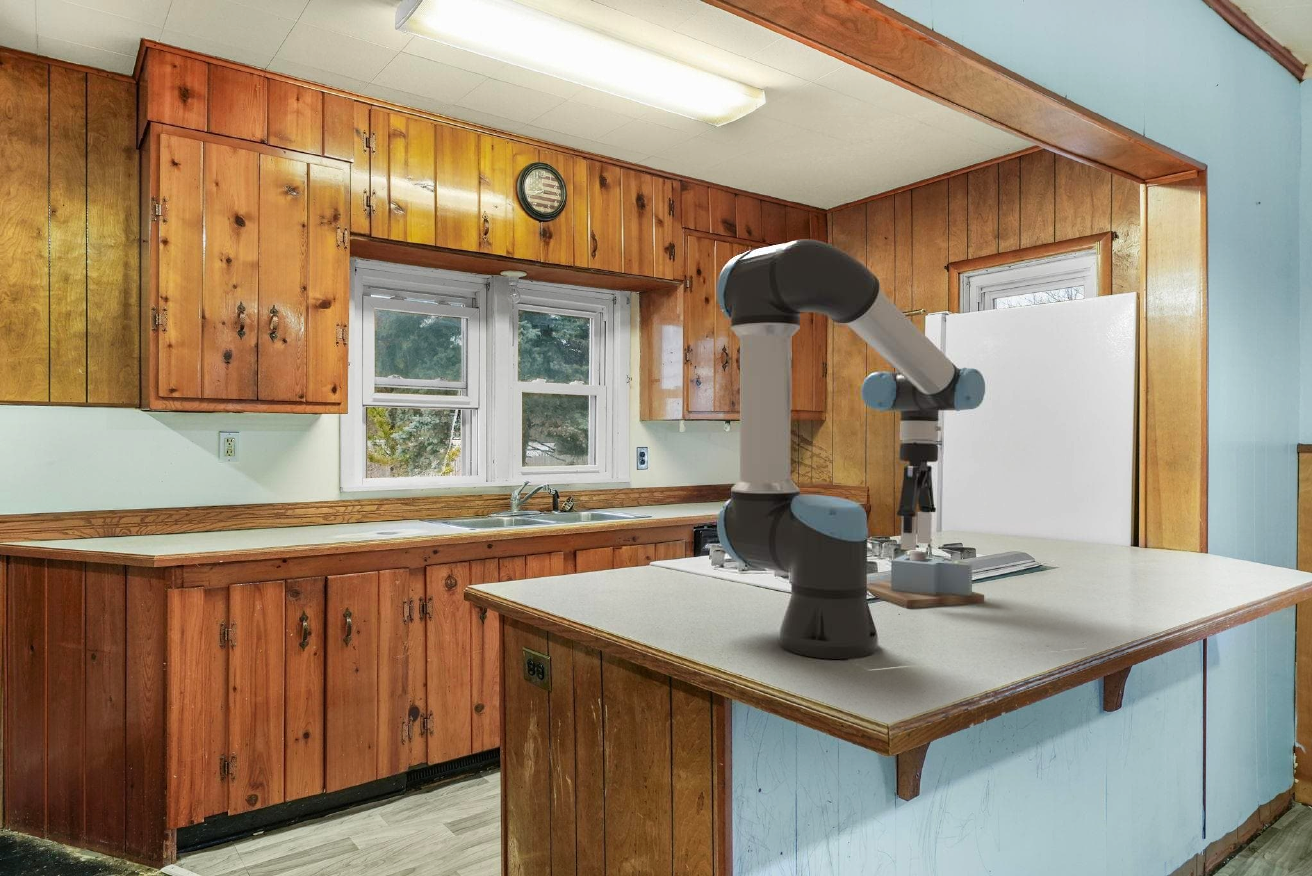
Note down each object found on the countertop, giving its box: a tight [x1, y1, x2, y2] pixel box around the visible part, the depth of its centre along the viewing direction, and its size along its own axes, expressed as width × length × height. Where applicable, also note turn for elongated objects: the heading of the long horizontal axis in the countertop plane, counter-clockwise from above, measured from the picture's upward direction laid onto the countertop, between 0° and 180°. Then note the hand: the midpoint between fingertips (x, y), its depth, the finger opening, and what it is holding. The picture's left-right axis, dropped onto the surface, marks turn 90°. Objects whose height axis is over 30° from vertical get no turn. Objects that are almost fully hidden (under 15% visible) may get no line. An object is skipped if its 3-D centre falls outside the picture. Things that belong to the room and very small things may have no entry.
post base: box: [867, 550, 985, 609], centre depth 165 cm, size 18×18×9 cm
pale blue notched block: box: [890, 554, 973, 596], centre depth 163 cm, size 14×8×6 cm, turn 57°
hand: (916, 546), depth 165 cm, fingers open, 13 cm apart
